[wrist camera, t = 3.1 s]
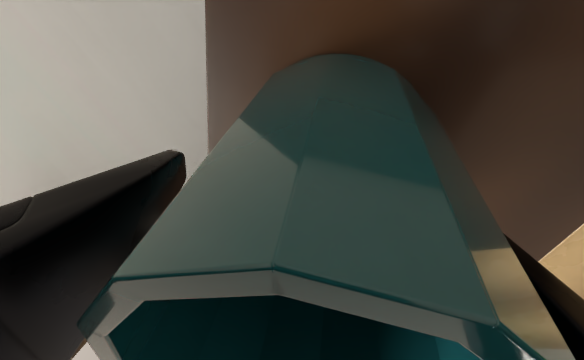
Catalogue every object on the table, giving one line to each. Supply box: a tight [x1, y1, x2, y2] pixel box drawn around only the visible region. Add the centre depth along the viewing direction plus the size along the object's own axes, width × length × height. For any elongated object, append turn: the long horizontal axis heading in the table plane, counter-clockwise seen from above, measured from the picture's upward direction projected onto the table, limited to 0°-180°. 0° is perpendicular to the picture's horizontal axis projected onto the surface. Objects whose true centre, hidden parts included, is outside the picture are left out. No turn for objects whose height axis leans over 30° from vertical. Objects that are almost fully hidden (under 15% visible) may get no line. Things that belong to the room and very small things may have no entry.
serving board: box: [205, 0, 584, 299], centre depth 11 cm, size 24×15×1 cm, turn 80°
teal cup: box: [76, 54, 575, 360], centre depth 7 cm, size 7×7×8 cm
